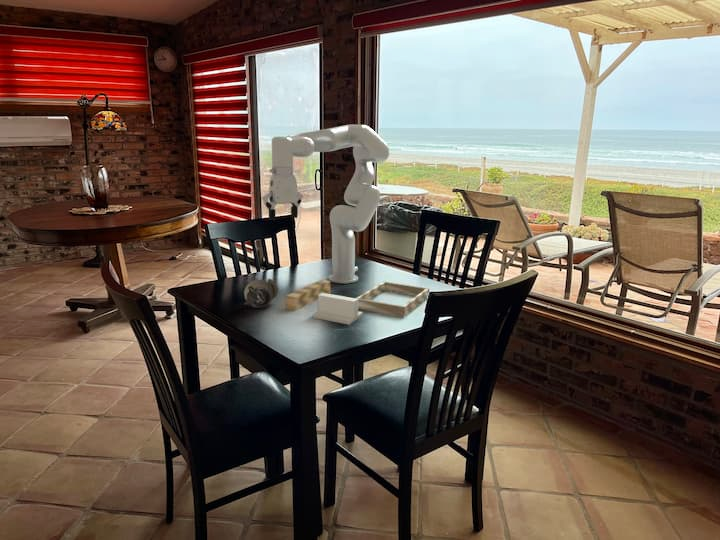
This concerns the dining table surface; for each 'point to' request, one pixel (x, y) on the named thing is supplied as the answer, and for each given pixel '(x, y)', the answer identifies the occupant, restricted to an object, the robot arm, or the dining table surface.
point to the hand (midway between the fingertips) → (283, 218)
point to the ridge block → (337, 308)
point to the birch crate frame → (392, 309)
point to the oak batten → (307, 294)
